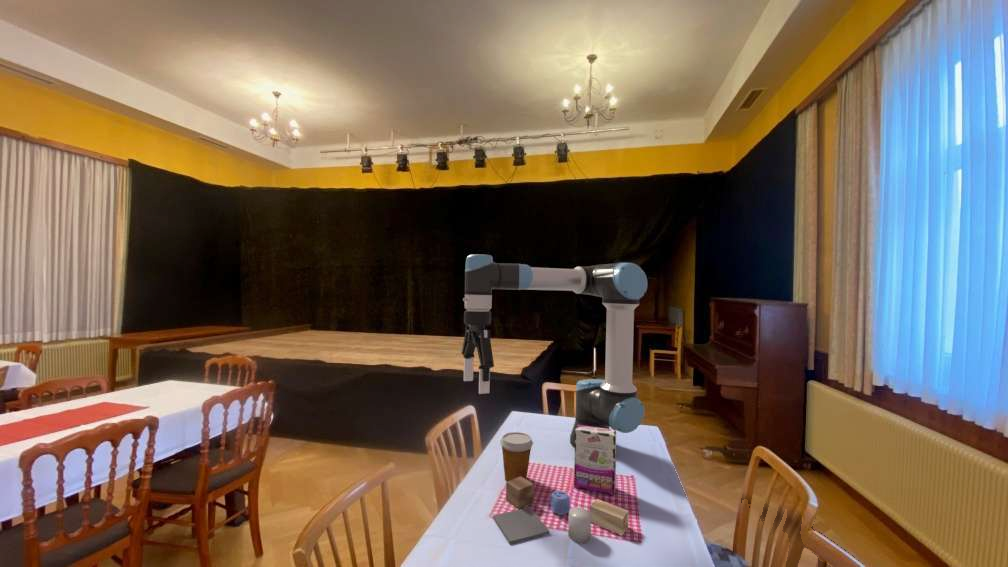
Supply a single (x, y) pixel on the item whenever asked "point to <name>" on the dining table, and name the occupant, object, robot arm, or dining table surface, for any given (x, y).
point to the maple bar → (609, 516)
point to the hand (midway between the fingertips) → (475, 386)
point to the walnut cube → (519, 492)
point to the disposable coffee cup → (516, 454)
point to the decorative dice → (560, 502)
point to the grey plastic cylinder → (579, 525)
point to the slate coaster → (520, 525)
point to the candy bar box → (595, 459)
